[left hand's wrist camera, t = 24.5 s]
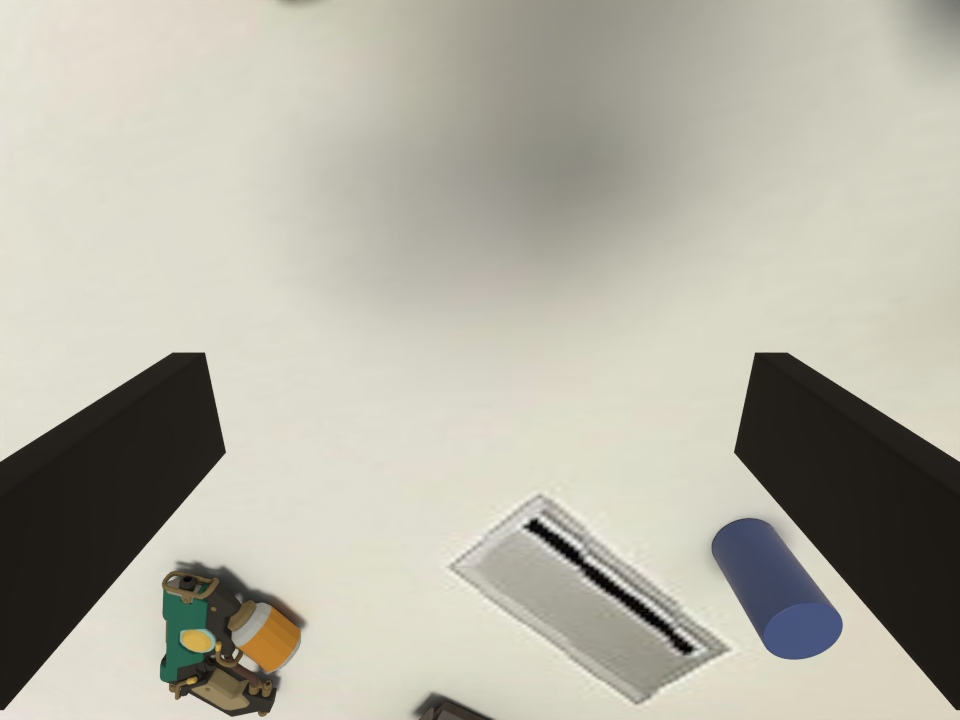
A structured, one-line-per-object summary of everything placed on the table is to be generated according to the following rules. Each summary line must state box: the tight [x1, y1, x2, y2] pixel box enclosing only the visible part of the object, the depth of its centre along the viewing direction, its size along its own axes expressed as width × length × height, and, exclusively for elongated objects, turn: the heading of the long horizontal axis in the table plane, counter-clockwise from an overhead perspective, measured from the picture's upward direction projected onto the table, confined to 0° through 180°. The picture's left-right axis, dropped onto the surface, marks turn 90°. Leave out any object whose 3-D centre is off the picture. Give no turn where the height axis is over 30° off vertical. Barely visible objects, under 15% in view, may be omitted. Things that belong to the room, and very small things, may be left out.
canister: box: [712, 519, 843, 660], centre depth 42 cm, size 6×6×9 cm
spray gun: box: [160, 571, 301, 717], centre depth 50 cm, size 4×17×15 cm
